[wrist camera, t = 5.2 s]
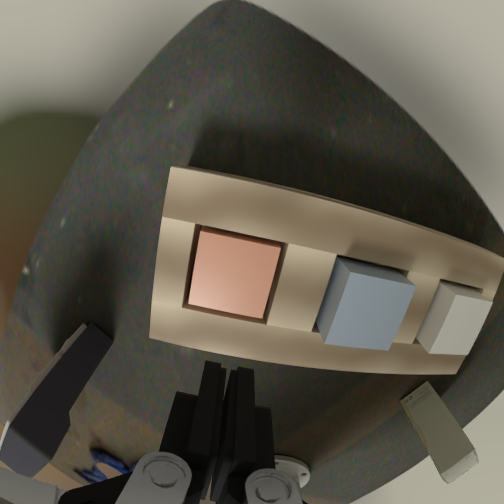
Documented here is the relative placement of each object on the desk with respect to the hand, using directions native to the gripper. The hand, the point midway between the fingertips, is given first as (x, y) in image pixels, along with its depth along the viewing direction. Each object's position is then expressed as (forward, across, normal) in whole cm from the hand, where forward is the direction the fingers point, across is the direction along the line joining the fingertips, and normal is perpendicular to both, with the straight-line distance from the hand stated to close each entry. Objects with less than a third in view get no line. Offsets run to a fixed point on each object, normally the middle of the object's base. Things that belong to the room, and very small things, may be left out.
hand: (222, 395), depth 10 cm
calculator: (+15, +14, +14) cm, 25 cm away
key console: (+15, -9, -1) cm, 17 cm away
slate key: (+11, -9, -1) cm, 14 cm away
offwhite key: (+11, -18, -1) cm, 21 cm away
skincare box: (+16, -26, +13) cm, 33 cm away
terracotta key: (+13, 0, -1) cm, 13 cm away
